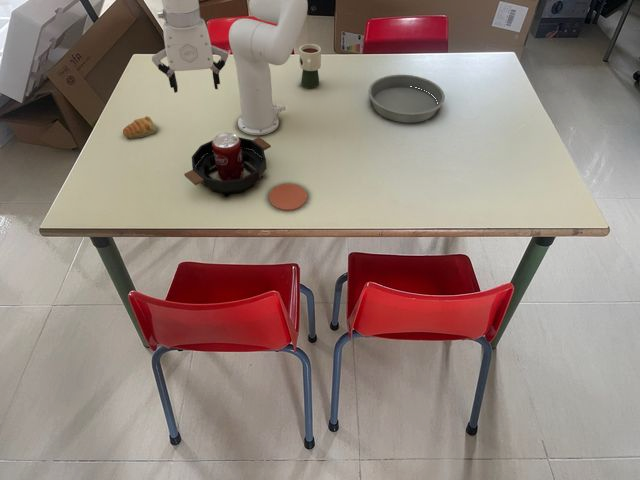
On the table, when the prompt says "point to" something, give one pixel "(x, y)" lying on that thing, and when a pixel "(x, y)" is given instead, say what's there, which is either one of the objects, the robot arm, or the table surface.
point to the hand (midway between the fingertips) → (196, 88)
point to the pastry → (139, 128)
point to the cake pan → (405, 98)
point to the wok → (201, 172)
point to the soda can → (228, 156)
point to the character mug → (310, 64)
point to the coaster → (288, 197)
